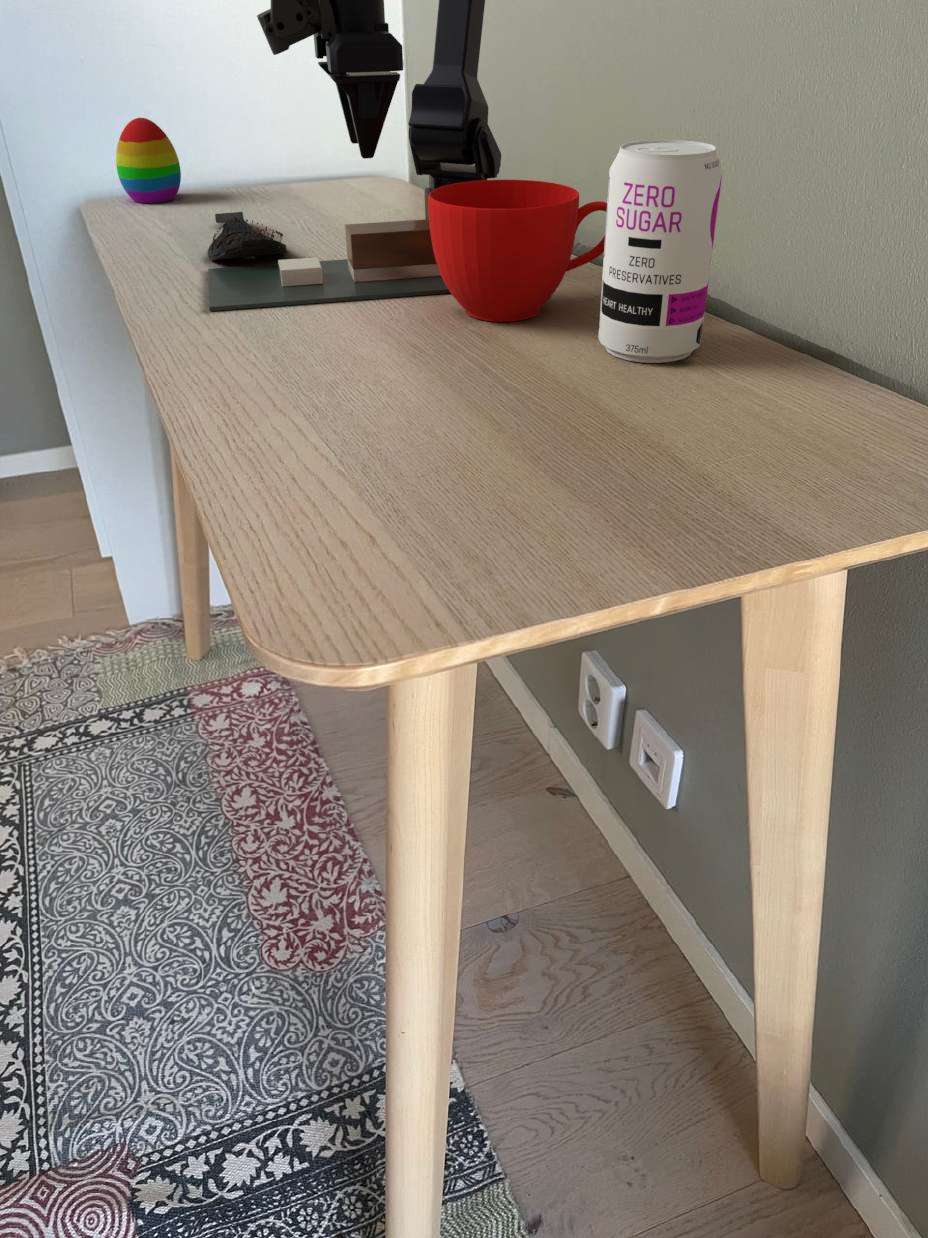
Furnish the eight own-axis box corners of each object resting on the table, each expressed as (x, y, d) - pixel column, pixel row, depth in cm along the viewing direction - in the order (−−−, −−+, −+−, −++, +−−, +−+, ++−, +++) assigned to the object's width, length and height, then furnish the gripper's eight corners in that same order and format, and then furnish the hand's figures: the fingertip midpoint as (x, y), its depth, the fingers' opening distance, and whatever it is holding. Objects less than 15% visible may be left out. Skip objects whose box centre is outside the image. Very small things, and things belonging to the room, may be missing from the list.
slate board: (435, 256, 105) (435, 252, 105) (463, 292, 94) (463, 287, 94) (208, 272, 101) (208, 268, 101) (209, 311, 90) (209, 306, 89)
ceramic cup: (635, 324, 85) (646, 201, 79) (445, 338, 82) (442, 212, 77) (590, 284, 96) (596, 174, 90) (420, 296, 93) (416, 183, 87)
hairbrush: (257, 195, 120) (291, 227, 100) (261, 226, 122) (295, 264, 101) (189, 200, 118) (209, 234, 97) (194, 232, 120) (215, 272, 99)
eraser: (444, 263, 101) (443, 218, 99) (453, 275, 98) (452, 227, 95) (348, 270, 99) (344, 224, 97) (354, 282, 96) (350, 234, 93)
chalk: (319, 273, 99) (317, 257, 98) (323, 283, 95) (321, 267, 95) (279, 276, 98) (277, 259, 97) (282, 286, 95) (280, 269, 94)
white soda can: (686, 331, 83) (709, 137, 75) (710, 364, 76) (738, 155, 68) (591, 333, 83) (604, 139, 75) (606, 367, 76) (622, 157, 68)
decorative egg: (123, 195, 135) (108, 115, 130) (183, 191, 137) (171, 112, 132) (122, 207, 129) (106, 123, 123) (186, 203, 131) (172, 119, 125)
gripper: (253, -44, 92) (273, 139, 100) (258, -46, 76) (282, 171, 85) (371, -46, 93) (380, 135, 102) (399, -47, 78) (408, 164, 87)
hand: (361, 150), depth 94 cm, fingers open, 9 cm apart
